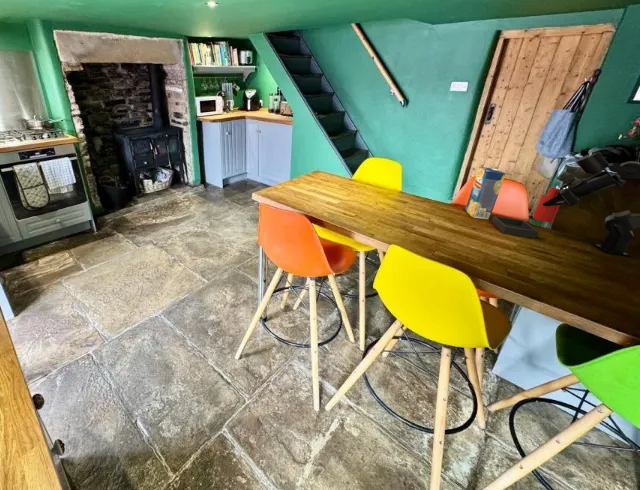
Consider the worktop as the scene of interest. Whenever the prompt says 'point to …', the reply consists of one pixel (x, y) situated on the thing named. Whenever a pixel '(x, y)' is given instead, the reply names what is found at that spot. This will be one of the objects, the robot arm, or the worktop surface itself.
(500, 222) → the tray
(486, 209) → the cracker box
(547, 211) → the ketchup bottle
